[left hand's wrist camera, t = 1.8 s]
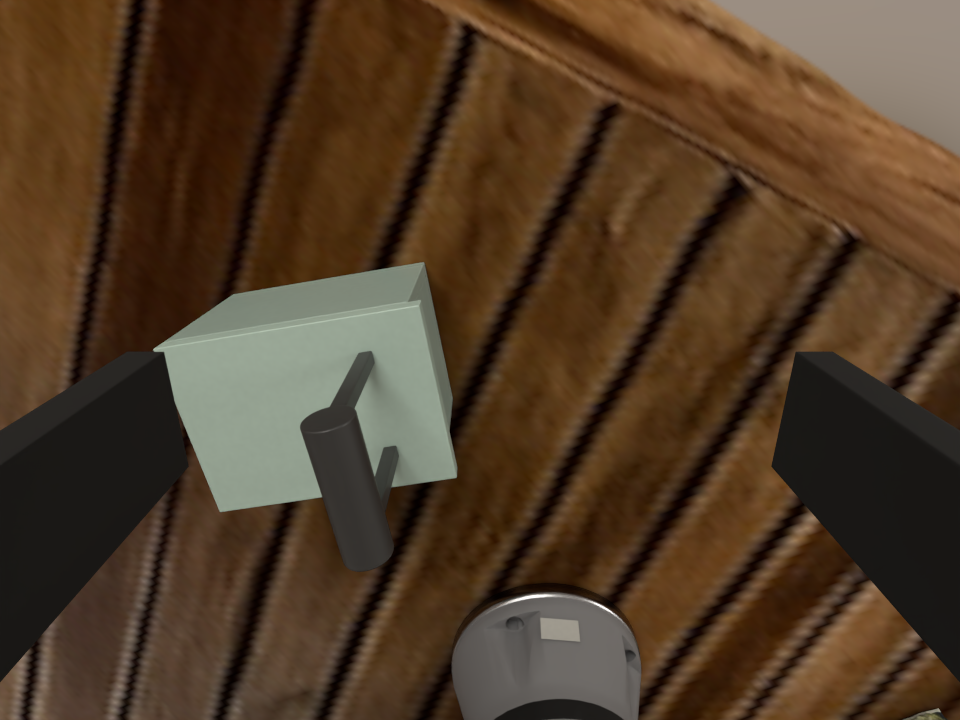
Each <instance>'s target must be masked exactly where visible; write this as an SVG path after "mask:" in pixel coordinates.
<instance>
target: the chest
mask: <svg viewBox="0 0 960 720" xmlns="http://www.w3.org/2000/svg"><path fill="white" fill-rule="evenodd" d="M417 300H421V302H422V307H423V311H424V316H425V321H426V325H427V330H428V335H429V339H430V344H431V348H432V353H433V358H434V362H435V367H436V372H437V376H438V381H439V385H440V390H441V395H442V399H443V404H444V409H445V413H446V418H447V422H448V427H449V430H450V421H451V411H452V401H453V398H452V393H451V388H450V383H449V378H448V374H447V369H446V364H445V359H444V354H443V350H442V345H441V340H440V335H439V330H438V326H437V321H436V316H435V311H434V306H433V302H432V297H431V292H430V287H429V283H428V278H427V273H426V268H425V263H424V262H422V263H416V264H410V265H404V266H398V267H392V268H386V269H380V270H374V271H368V272H363V273H357V274H351V275H345V276H339V277H333V278H327V279H321V280H315V281H309V282H303V283H298V284H292V285H286V286H280V287H274V288H268V289H262V290H256V291H250V292H244V293H239V294H233V295H232V296H231V297H229V298H227V299H226V300H224V301H223V302H222V303H220V304H219V305H217V306H216V307H214V308H213V309H211V310H210V311H208V312H207V313H206V314H204V315H203V316H201V317H200V318H198V319H197V320H195V321H194V322H192V323H191V324H190V325H188V326H187V327H185V328H184V329H182V330H181V331H179V332H178V333H176V334H175V335H173V336H172V337H171V338H169V339H168V340H166V341H165V342H168V341H175V340H181V339H187V338H193V337H199V336H205V335H211V334H217V333H223V332H229V331H235V330H241V329H247V328H253V327H259V326H265V325H271V324H277V323H284V322H290V321H296V320H302V319H308V318H314V317H320V316H326V315H332V314H338V313H344V312H350V311H356V310H362V309H368V308H374V307H380V306H386V305H393V304H399V303H405V302H411V301H417Z"/></svg>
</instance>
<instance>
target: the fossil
mask: <svg viewBox="0 0 960 720" xmlns="http://www.w3.org/2000/svg"><path fill="white" fill-rule="evenodd" d="M904 720H947V719H946V718H945V717H944V716H943V715H942V713H941V712H940V710H939V708H938V709H934V710H930V711H926V712H922V713H918V714H917V715H915V716H913V717H910V718H907V719H904Z"/></svg>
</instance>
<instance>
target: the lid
mask: <svg viewBox="0 0 960 720" xmlns="http://www.w3.org/2000/svg"><path fill="white" fill-rule="evenodd" d="M154 352H164V353H165V358H166V363H167V367H168V372H169V377H170V382H171V386H172V391H173V396H174V400H175V404H176V406H177V408H178V411H179V413H180V416H181V418H182V421H183V423H184V426H185V428H186V430H187V433H188V435H189V438H190V440H191V443H192V445H193V448H194V450H195V452H196V455H197V457H198V460H199V462H200V465H201V467H202V470H203V472H204V474H205V477H206V479H207V482H208V484H209V487H210V489H211V491H212V494H213V496H214V499H215V501H216V504H217V506H218V509H219V511H220V512H224V511H231V510H238V509H245V508H252V507H259V506H266V505H273V504H279V503H286V502H293V501H300V500H307V499H314V498H321V497H322V498H323V501H324V504H325V507H326V510H327V513H328V516H329V519H330V522H331V525H332V529H333V532H334V535H335V538H336V541H337V544H338V547H339V550H340V553H341V556H342V559H343V562H344V565H345V566H346V567H347V568H348V569H350V570H352V571H358V572H362V571H368V570H372V569H374V568H377V567H379V566H380V565H382V564H383V563H385V562H386V561H387V560H388V559H389V558H390V556H391V555H392V553H393V550H394V544H393V540H392V537H391V533H390V529H389V526H388V522H387V519H386V515H385V511H386V507H387V503H388V499H389V495H390V491H391V487H397V486H404V485H411V484H418V483H425V482H432V481H439V480H446V479H453V478H457V464H456V459H455V455H454V450H453V446H452V441H451V436H450V432H449V427H448V422H447V418H446V413H445V409H444V404H443V399H442V395H441V390H440V385H439V381H438V376H437V372H436V367H435V362H434V358H433V353H432V348H431V344H430V339H429V335H428V330H427V325H426V321H425V316H424V311H423V307H422V302H421V300H417V301H411V302H405V303H399V304H393V305H386V306H380V307H374V308H368V309H362V310H356V311H350V312H344V313H338V314H332V315H326V316H320V317H314V318H308V319H302V320H296V321H290V322H284V323H277V324H271V325H265V326H259V327H253V328H247V329H241V330H235V331H229V332H223V333H217V334H211V335H205V336H199V337H193V338H187V339H181V340H175V341H168V342H163V343H162V344H160V345H159V346H157V347H156V348H154Z"/></svg>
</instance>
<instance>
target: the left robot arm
mask: <svg viewBox="0 0 960 720" xmlns="http://www.w3.org/2000/svg"><path fill="white" fill-rule="evenodd" d="M187 468H188V462H187V457H186V452H185V447H184V443H183V438H182V433H181V429H180V424H179V419H178V415H177V410H176V405H175V400H174V396H173V391H172V386H171V382H170V377H169V372H168V367H167V363H166V358H165V353H164V352H126V353H125V354H123V355H121V356H120V357H118V358H116V359H115V360H113V361H112V362H110V363H108V364H107V365H105V366H104V367H102V368H100V369H99V370H97V371H96V372H94V373H92V374H91V375H89V376H88V377H86V378H84V379H83V380H81V381H79V382H78V383H76V384H75V385H73V386H71V387H70V388H68V389H67V390H65V391H63V392H62V393H60V394H59V395H57V396H55V397H54V398H52V399H50V400H49V401H47V402H46V403H44V404H42V405H41V406H39V407H38V408H36V409H34V410H33V411H31V412H30V413H28V414H26V415H25V416H23V417H22V418H20V419H18V420H17V421H15V422H13V423H12V424H10V425H9V426H7V427H5V428H4V429H2V430H1V431H0V682H1V681H2V679H3V678H4V677H5V676H6V675H7V674H8V673H9V671H10V670H11V669H12V668H13V667H14V666H15V665H16V663H17V662H18V661H19V660H20V659H21V658H22V657H23V655H24V654H25V653H26V652H27V651H28V650H29V649H30V647H31V646H32V645H33V644H34V643H35V642H36V640H37V639H38V638H39V637H40V636H41V635H42V634H43V632H44V631H45V630H46V629H47V628H48V627H49V626H50V624H51V623H52V622H53V621H54V620H55V619H56V618H57V616H58V615H59V614H60V613H61V612H62V611H63V610H64V608H65V607H66V606H67V605H68V604H69V603H70V602H71V600H72V599H73V598H74V597H75V596H76V595H77V594H78V592H79V591H80V590H81V589H82V588H83V587H84V586H85V584H86V583H87V582H88V581H89V580H90V579H91V578H92V576H93V575H94V574H95V573H96V572H97V571H98V570H99V568H100V567H101V566H102V565H103V564H104V563H105V561H106V560H107V559H108V558H109V557H110V556H111V555H112V553H113V552H114V551H115V550H116V549H117V548H118V547H119V545H120V544H121V543H122V542H123V541H124V540H125V539H126V537H127V536H128V535H129V534H130V533H131V532H132V531H133V529H134V528H135V527H136V526H137V525H138V524H139V523H140V521H141V520H142V519H143V518H144V517H145V516H146V515H147V513H148V512H149V511H150V510H151V509H152V508H153V507H154V505H155V504H156V503H157V502H158V501H159V500H160V499H161V497H162V496H163V495H164V494H165V493H166V492H167V491H168V489H169V488H170V487H171V486H172V485H173V484H174V482H175V481H176V480H177V479H178V478H179V477H180V476H181V474H182V473H183V472H184V471H185V470H186V469H187ZM772 468H773V469H774V470H775V471H776V472H777V473H778V474H779V476H780V477H781V478H782V479H783V480H784V481H785V482H786V484H787V485H788V486H789V487H790V488H791V489H792V491H793V492H794V493H795V494H796V495H797V496H798V497H799V499H800V500H801V501H802V502H803V503H804V504H805V505H806V507H807V508H808V509H809V510H810V511H811V512H812V513H813V515H814V516H815V517H816V518H817V519H818V520H819V521H820V523H821V524H822V525H823V526H824V527H825V528H826V529H827V531H828V532H829V533H830V534H831V535H832V536H833V537H834V539H835V540H836V541H837V542H838V543H839V544H840V545H841V547H842V548H843V549H844V550H845V551H846V552H847V553H848V555H849V556H850V557H851V558H852V559H853V560H854V561H855V563H856V564H857V565H858V566H859V567H860V568H861V570H862V571H863V572H864V573H865V574H866V575H867V576H868V578H869V579H870V580H871V581H872V582H873V583H874V584H875V586H876V587H877V588H878V589H879V590H880V591H881V592H882V594H883V595H884V596H885V597H886V598H887V599H888V600H889V602H890V603H891V604H892V605H893V606H894V607H895V608H896V610H897V611H898V612H899V613H900V614H901V615H902V616H903V618H904V619H905V620H906V621H907V622H908V623H909V624H910V626H911V627H912V628H913V629H914V630H915V631H916V632H917V634H918V635H919V636H920V637H921V638H922V639H923V640H924V642H925V643H926V644H927V645H928V646H929V647H930V649H931V650H932V651H933V652H934V653H935V654H936V655H937V657H938V658H939V659H940V660H941V661H942V662H943V663H944V665H945V666H946V667H947V668H948V669H949V670H950V671H951V673H952V674H953V675H954V676H955V677H956V678H957V679H958V681H959V682H960V431H959V430H958V429H956V428H955V427H953V426H951V425H950V424H948V423H947V422H945V421H943V420H942V419H940V418H938V417H937V416H935V415H934V414H932V413H930V412H929V411H927V410H926V409H924V408H922V407H921V406H919V405H918V404H916V403H914V402H913V401H911V400H910V399H908V398H906V397H905V396H903V395H901V394H900V393H898V392H897V391H895V390H893V389H892V388H890V387H889V386H887V385H885V384H884V383H882V382H881V381H879V380H877V379H876V378H874V377H872V376H871V375H869V374H868V373H866V372H864V371H863V370H861V369H860V368H858V367H856V366H855V365H853V364H852V363H850V362H848V361H847V360H845V359H844V358H842V357H840V356H839V355H837V354H835V353H834V352H796V353H795V358H794V363H793V367H792V372H791V377H790V382H789V386H788V391H787V396H786V400H785V405H784V410H783V415H782V419H781V424H780V429H779V433H778V438H777V443H776V447H775V452H774V457H773V462H772ZM452 677H453V684H454V689H455V692H456V695H457V698H458V701H459V705H460V708H461V712H462V715H463V718H464V720H638V710H639V696H640V682H641V662H640V653H639V649H638V645H637V642H636V638H635V635H634V632H633V629H632V627H631V625H630V623H629V621H628V620H627V618H626V617H625V616H624V614H623V613H622V612H621V611H620V610H619V609H618V608H617V607H616V606H615V605H614V604H612V603H611V602H610V601H608V600H607V599H605V598H603V597H602V596H600V595H598V594H596V593H594V592H592V591H589V590H586V589H583V588H580V587H576V586H571V585H566V584H556V583H540V584H530V585H524V586H520V587H515V588H512V589H509V590H506V591H503V592H501V593H499V594H497V595H495V596H492V597H491V598H489V599H487V600H486V601H484V602H483V603H481V604H480V605H479V606H477V607H476V608H475V609H474V610H473V611H472V612H471V613H470V614H469V615H468V616H467V617H466V618H465V620H464V621H463V622H462V624H461V626H460V627H459V629H458V631H457V634H456V636H455V639H454V643H453V650H452Z"/></svg>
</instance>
